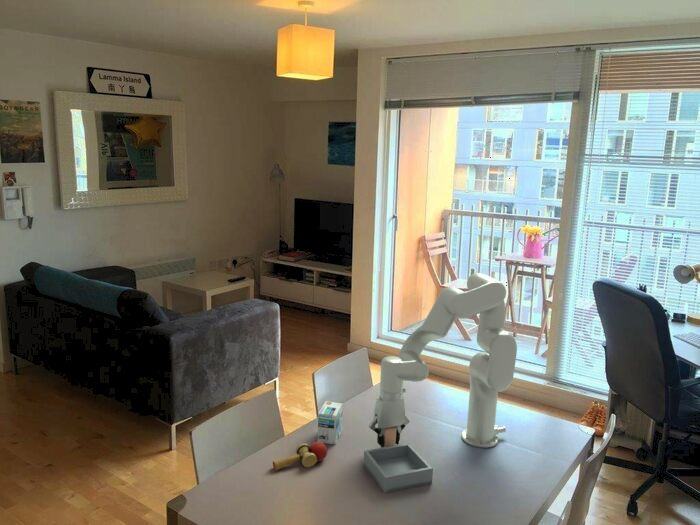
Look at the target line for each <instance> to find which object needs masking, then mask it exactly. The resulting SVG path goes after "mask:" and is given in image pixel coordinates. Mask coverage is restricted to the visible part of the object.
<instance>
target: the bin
mask: <svg viewBox="0 0 700 525" xmlns="http://www.w3.org/2000/svg"><path fill="white" fill-rule="evenodd" d="M363 466H364V468H365V469H366V471H367V472H368V473H369V475H370V476H371V477H372V479H373V480H374V482H376V484H377V485H378V487H379V488H380V490H382V492H383V493H384V494H387V493H392V492H396V491H401V490H407V489H411V488H415V487H422V486H426V485H431V484H433V476H434V468H433V466H432V465H431V464H429V462H427V461H426V459H424V457H423V455H421V454H420V453H419V452H418V451H417V450H416V449H415V448H414V447H413V445H411V444H410V443H403V444H402V443H401V444H398V445H397V444H396V446H390V447H384V448H381V447H380V448H374V449H367V450H364V451H363Z"/></svg>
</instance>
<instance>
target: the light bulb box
mask: <svg viewBox="0 0 700 525" xmlns="http://www.w3.org/2000/svg"><path fill="white" fill-rule="evenodd" d="M343 407H344V403H339V402H332V401H327V400H326V401H324V403H323V405H321V408H320V409H319V411H318V414H317V417H318V418H317V442H322V443H323V444H329V445H336V444H337V443H338V441H339V438H340V436H341V434H342V432H343V413H344V412H343V409H344V408H343Z"/></svg>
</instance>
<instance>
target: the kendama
mask: <svg viewBox="0 0 700 525" xmlns="http://www.w3.org/2000/svg"><path fill="white" fill-rule="evenodd" d="M295 453H296V454H295V455H294V454H293V455H291V456H286V457H284V458H280V459H276V460H272V467H273V469H274V468H275V469H274V471H275V470H276V471H278V470H280V469H283V468H285V467H287V466H289V465H292V464H294V463H297V462H298V461H300V460H301V463H302V465H303V467H305V468H307V467H308V468H311V467H310V466H312V467H314V466H315V464H317V462H321V461H323V460H324V459H325V458H326V457H327V455H328V449H327V446H326V443H322V442H318V441H315V442H312V443H311V444H310V445H309V444H307V443H300V444H299V445H298V446H296V449H295Z"/></svg>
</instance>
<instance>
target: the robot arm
mask: <svg viewBox="0 0 700 525" xmlns="http://www.w3.org/2000/svg"><path fill="white" fill-rule="evenodd" d="M466 288H467V291H463V290H461V289H460V288H458V287H454V286H447V287H445V288H443V289H442V290H441V291H440V293H439V295H438V296H437V298H436V299H435V301H434V304H433V305H432V307H431V309H430V311H429V312H428V314H427V316H426V318H425V319H424V322H423V323H422V324H421V325H420V326H419V327H417V328H416V329H415V330H414V331H413V332H411V333H410V334H409V336H407V338H406V339H405V341H404V343H403V345H402V347H401V348H400V350H399V352H398V354H397V356H394V355H389V356H385V357H383V358H382V359H381V363H380V375H379V376H380V378H379V379H380V380H379V381H380V382H379V395H378V396H377V397H376V400H375V403H374V408H373V419H372V420H371V422H370V424H369V425H368V428H370V430H372V431H374V432H375V433H376V435H377V438H376V443H377V444H378V445H379V446H380V448H381V447H384V436H383V432H384V429H385V428H388V427H394V426H396V427H397V430H396V445H400V440H401V433H402V431H403V430H404V429H405V427H406V426H407V425H408V424H409V423H410V420H409V419H408V417H407V415H406V406H405V398H404V395H403V394H404V393H407V391H406V388H403V386H404V384H403V383H404V381H405V382H414V383H417V382H422V381H424V380H426V379H427V377H428V376H429V373H430V370H429V365H428V364H427V363H426V362H425V361H424V360H423V359H422V358H421V357H420V356H421V354H422V352H423V351H424V349H425V348H426V347H427V345H428V344H430V343H431V342H433V341H436V340H440V339H444V338H445V337H446V336H447V335H448V333H449V331H450V330H451V328H452V326H453V324H454V322H455V321H456V319H467V318H471V317H474V316H476V315H478V314H479V318H478V326H477V331H476V332H477V333H476V344H477V345H478V347H479V348H480V349H481V350H483V351H485V352H483V351H482V352H477V353H476V354H474V355H473V356H472V357H471V359H470V360H469V366H468V373H469V397H468V408H467V420H466V421H467V423H466V429H464V430H463V431H462V432H461V439H462V440H463V441H464V443H466V444H468V445H470V446H472V447H476V448H477V447H478V448H492V447H495V446H496V445H497V444H498V443H499V437H498V435H499V434H502V433H506V432H507V431H506V430H507V429H506V427H505V426H500V427H499V425H497V424H496V418H497V417H496V416H497V403H498V394H499V393H500V392H504V391H506V390H507V389H508V388H509V387H510V385H511V384H512V381H513V380H514V373H515V367H516V361H517V352H518V345H517V341H516V339H515V337H514V336H513V335H512V334H511V333H510V332H508V331H507V330H506V329H505V324H506V323H505V321H506V303H505V299H506V295H507V289H506V286H505V285H504V284H503V283H502V282H501V281H499V280H498V279H495V278H493V277H491V276H490V275H487V274H485V273H482V272H474V273H471V274H470V275H469V276H468V278H467V281H466ZM376 425H377V426H376Z"/></svg>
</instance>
